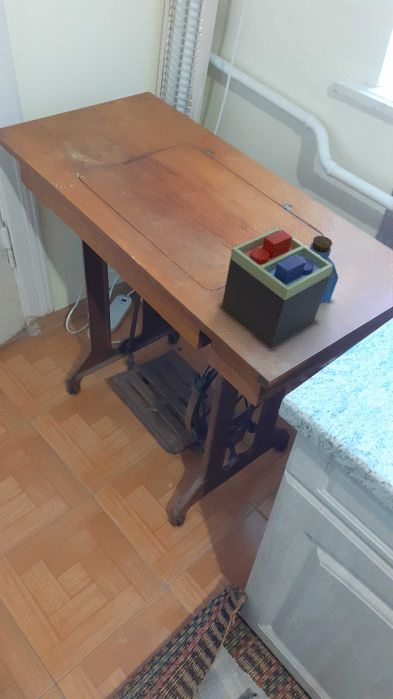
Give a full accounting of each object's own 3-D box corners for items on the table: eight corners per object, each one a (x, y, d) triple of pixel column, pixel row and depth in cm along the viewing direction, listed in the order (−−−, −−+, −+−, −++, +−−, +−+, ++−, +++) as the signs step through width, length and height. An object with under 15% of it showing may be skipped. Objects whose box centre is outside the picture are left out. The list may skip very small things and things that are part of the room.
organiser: (276, 237, 89) (278, 227, 88) (330, 275, 84) (333, 265, 82) (230, 258, 84) (232, 248, 83) (284, 300, 79) (287, 290, 77)
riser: (263, 288, 97) (276, 237, 89) (312, 325, 92) (330, 275, 84) (221, 310, 92) (230, 258, 84) (269, 351, 87) (284, 300, 79)
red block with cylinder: (277, 242, 87) (280, 228, 85) (290, 252, 86) (294, 237, 84) (245, 256, 84) (248, 241, 82) (258, 266, 83) (262, 252, 81)
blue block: (285, 287, 80) (289, 272, 78) (271, 276, 81) (275, 261, 79) (316, 271, 83) (321, 256, 81) (302, 260, 85) (306, 246, 83)
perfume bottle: (281, 288, 98) (297, 233, 89) (311, 283, 100) (328, 228, 91) (298, 311, 94) (316, 255, 85) (328, 304, 96) (348, 249, 87)
